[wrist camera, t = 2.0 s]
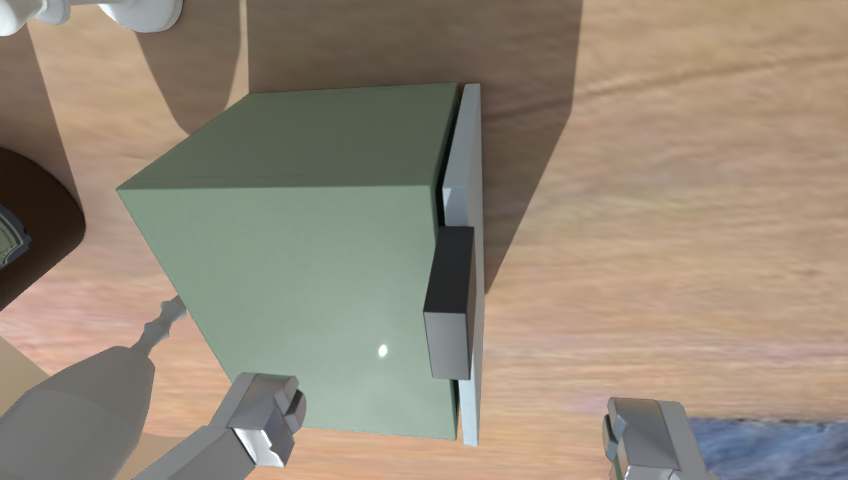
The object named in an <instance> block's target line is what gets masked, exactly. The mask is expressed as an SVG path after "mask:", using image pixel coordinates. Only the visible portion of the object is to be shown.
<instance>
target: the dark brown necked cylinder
mask: <svg viewBox="0 0 848 480" xmlns="http://www.w3.org/2000/svg"><path fill="white" fill-rule="evenodd" d="M84 232H85V229H84V222H83V218H82V215H81V213H80V211H79V209H78V207H77V205H76V204H75V202H74V201H73V199H72V198H71V196H70V195H69V194H68V193H67V191H66V190H65V189H64V188H63V187H62V186H61V185H60V184H59V183H58V182H57V181H56V180H55V179H54V178H53V177H52V176H50V175H49V174H48V173H47V172H45V171H44V170H43V169H41V168H40V167H39V166H37V165H36V164H34V163H32V162H31V161H29V160H27V159H26V158H24V157H22V156H20V155H18V154H16V153H13V152H11V151H8V150H6V149H3V148H0V311H2V310H3V309H4V308H5V307H6V306H7V305H9V304H10V303H11V302H12V301H13V300H14V299H15V298H17V297H18V296H19V295H20V294H21V293H22V292H24V291H25V290H26V289H27V288H28V287H30V286H31V285H32V284H33V283H34V282H36V281H37V280H38V279H39V278H40V277H42V276H43V275H44V274H45V273H46V272H48V271H49V270H50V269H51V268H52V267H54V266H55V265H56V264H57V263H58V262H60V261H61V260H62V259H63V258H64V257H66V256H67V255H68V254H69V253H70V252H72V251H73V250H74V249H75V248H76V247H77V246H78V245H79V244H80V243H81V241H82V240H83V237H84Z"/></svg>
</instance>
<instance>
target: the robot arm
mask: <svg viewBox="0 0 848 480" xmlns="http://www.w3.org/2000/svg"><path fill="white" fill-rule="evenodd" d="M298 385H299V382H298V380H297V378H296V376H290V375H277V374H264V373H254V372H242V373H241V374H240V375H238V376H237V377H236V379H235V381H234V382H233V384H232V386H231V388H230V389H229V391H228V393H227V394H226V396H225V398H224V399H223V401H222V403H221V404H220V406H219V408H218V410H217V411H216V413H215V415H214V416H213V418H212V420H211V421H210V423H209V425H208V426H202V427H201V428H199V429H198V430H197V431H195V432H194V433H193V434H191V435H190V436H189V437H187V438H186V439H185V440H183V441H182V442H181V443H179V444H178V445H177V446H176V447H174V448H173V449H171V450H170V451H169V452H167V453H166V454H165V455H164V456H162V457H161V458H160V459H158V460H157V461H156V462H154V463H153V464H152V465H150V466H149V467H148V468H146V469H145V470H144V471H142V472H141V473H140V474H138V475H137V476H136V477H134V478H133V479H132V480H244V479H245V478H246V477H247V476H248V475H249V474H250V473H251V472H252V471H253V470H254V468H255V467H256V466H255V465H259V466H272V467H285V466H286V464H287V461H288V459H289V456H290V454H291V451H292V449H293V446H294V444H295V442H294V438H293V434H294V433H295V432H296V431H298V430H299V429H300V428H301V426H302V424H303V421H304V418H305V413H306V407H307V405H306V398H305V395H304V393H303V392H301V391H300V390H299V389H297V387H298ZM607 407H608V412H609V414H607V415H605V416H604V421H603V444H604V450H605V455H606V456H607V458H608V459H609V460H610V461H611V462H612V466H611V470H610V473H609V476H610V480H721V479H720V478H719V477H718V476H717V475H716V474H709V473H708V471H707V469H706V466H705V463H704V461H703V458H702V455H701V453H700V450H699V447H698V445H697V442H696V439H695V437H694V434H693V432H692V429H691V426H690V424H689V421H688V418H687V416H686V413H685V410H684V408H683V406H682V405H681V404H680V403H679V402H677V401H660V400H654V399H635V398H616V397H611V398H610V399H609V401H608V405H607Z"/></svg>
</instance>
